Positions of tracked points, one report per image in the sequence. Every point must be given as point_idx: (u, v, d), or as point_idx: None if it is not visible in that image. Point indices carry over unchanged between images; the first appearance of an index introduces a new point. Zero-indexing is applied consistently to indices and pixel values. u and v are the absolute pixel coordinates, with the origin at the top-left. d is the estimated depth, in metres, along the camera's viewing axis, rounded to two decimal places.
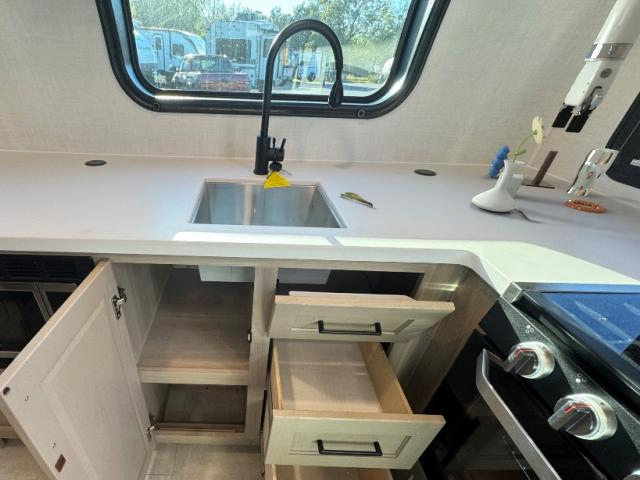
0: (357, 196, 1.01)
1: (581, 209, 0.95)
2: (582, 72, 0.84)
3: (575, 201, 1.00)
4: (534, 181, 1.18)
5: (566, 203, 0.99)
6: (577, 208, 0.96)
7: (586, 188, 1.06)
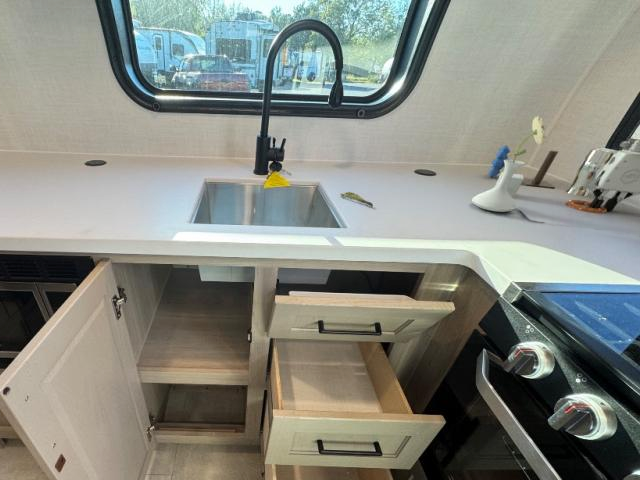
0: (357, 196, 1.01)
1: (582, 209, 0.95)
2: None
3: (576, 201, 1.00)
4: (534, 181, 1.18)
5: (567, 203, 0.99)
6: (578, 208, 0.96)
7: (586, 188, 1.06)
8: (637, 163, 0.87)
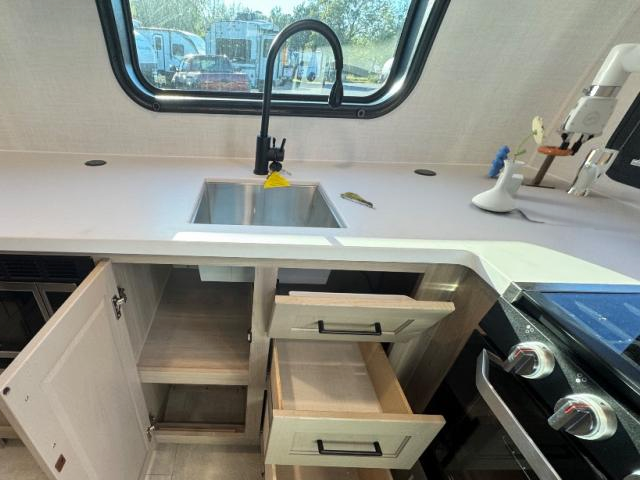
0: (357, 196, 1.01)
1: (551, 151, 1.10)
2: None
3: (547, 146, 1.14)
4: (534, 181, 1.18)
5: (539, 148, 1.14)
6: (548, 150, 1.10)
7: (586, 188, 1.06)
8: (596, 107, 1.01)
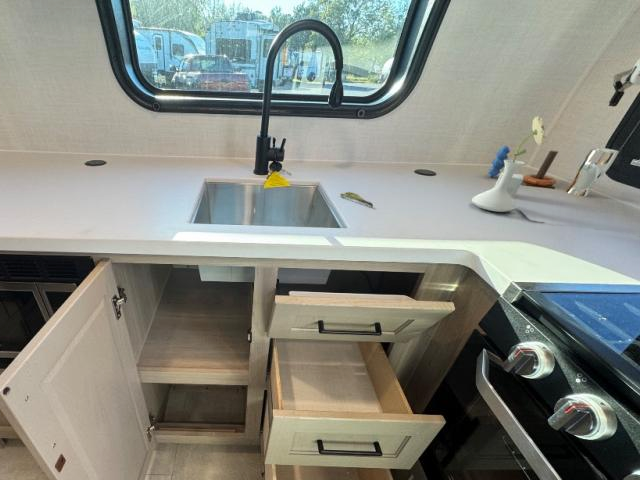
0: (357, 196, 1.01)
1: (535, 181, 1.16)
2: None
3: (532, 175, 1.20)
4: None
5: (525, 177, 1.20)
6: (532, 180, 1.16)
7: (586, 188, 1.06)
8: None
